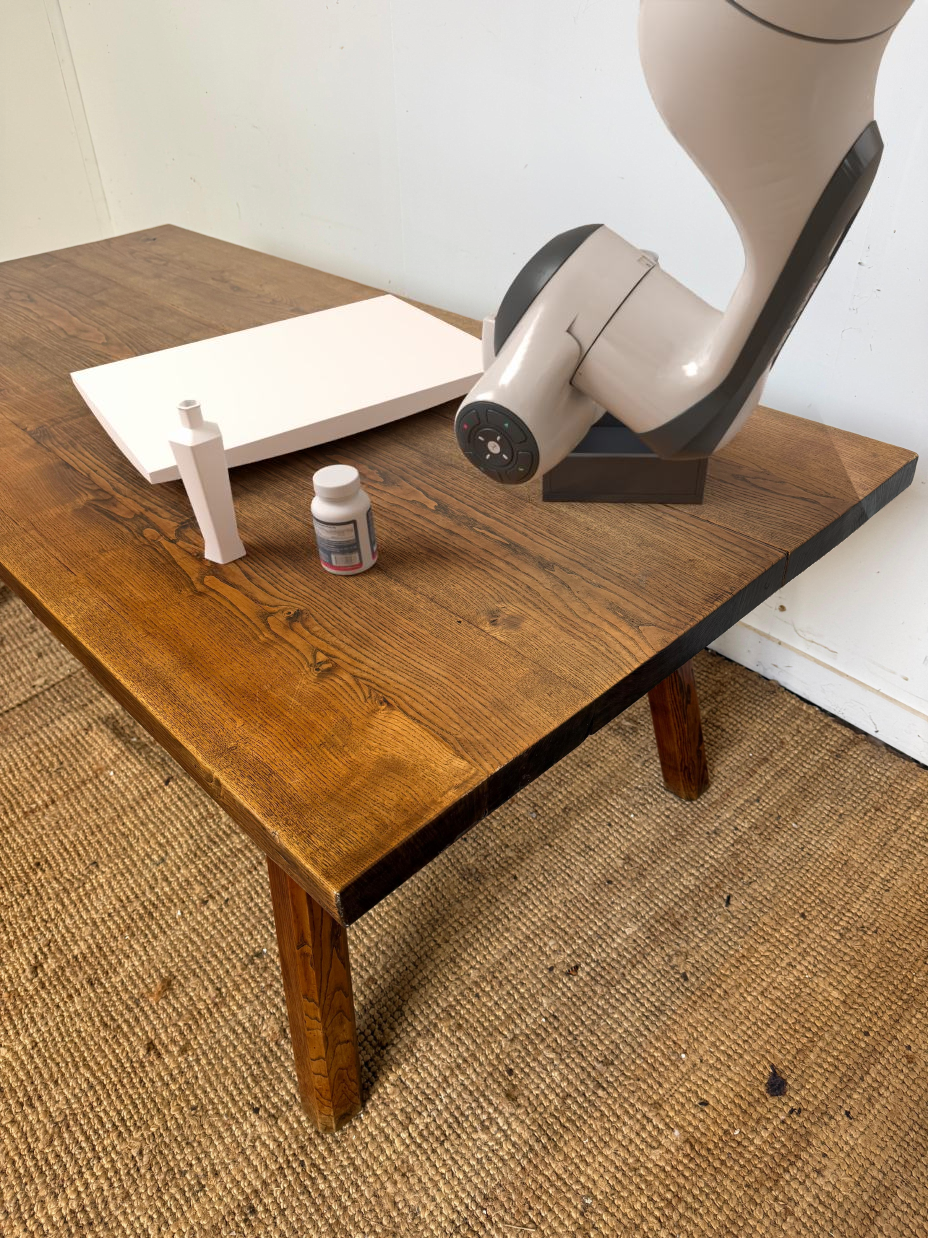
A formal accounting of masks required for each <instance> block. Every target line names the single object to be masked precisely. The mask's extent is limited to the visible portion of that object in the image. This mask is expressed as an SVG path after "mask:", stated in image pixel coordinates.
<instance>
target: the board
mask: <svg viewBox="0 0 928 1238" xmlns="http://www.w3.org/2000/svg"><path fill="white" fill-rule="evenodd" d="M69 374H70V377H71V380H72V382H73V384H74V386H75V388H76V389H77V391H78V393H79V395H80V396H81V397H82V398H83V400H84V401H85V403H86V405H87V406H88V408H89V409H90V411H91V412H92V414H93V415H94V417H95V418H96V419H97V420H98V422H99V424H100V425H101V426H102V428H103V429H104V431H105V432H106V433H107V434H108V436H109V438H111V440H112V441H113V443H115V445H116V446H117V447H118V449H119V451H121V453H123V455H124V456H125V457H126V458H127V460H128V461H129V462H130V463H131V464H132V465H133V467H134V468H135V469H136V470H137V471H138V472H139V473H140V474H141V475H142V476H143V477H144V478H145V479H146V480H147V481H148V482H149V483H150V484H151V485H156V484H161V483H166V482H171V481H176V480H180V479H181V480H182V477H181V474H180V471H179V469H178V466H177V463H176V460H175V458H174V455H173V452H172V449H171V447H170V444H169V441H168V438H169V437H170V436H171V435H172V434H174V433H175V432H176V431H177V430H178V429H179V428H180V427H181V426H182V424H181V420H180V416H179V412H178V409H177V408H176V407H175V405H176V404H177V403H179V402H180V401H181V400H183V399H195V398H198V399H199V400H200V402H201V405H200V408H201V412H202V416H203V420H204V421H210V422H216V423H217V424H218V426H219V429H220V431H221V434H222V439H223V445H224V451H225V457H226V463H227V469H230V468H234V467H238V466H243V465H246V464H247V465H248V464H251V463H255V462H259V461H262V460H266V459H271V458H274V457H278V456H282V455H285V454H289V453H293V452H297V451H300V450H304V449H307V448H311V447H314V446H318V445H321V444H326V443H328V442H332V441H336V440H338V439H341V438H346V437H348V436H352V435H355V434H357V433H360V432H365V431H367V430H370V429H373V428H376V427H379V426H382V425H385V424H388V423H391V422H394V421H396V420H400V419H403V418H406V417H408V416H411V415H414V414H417V413H420V412H423V411H425V410H428V409H430V408H433V407H436V406H439V405H441V404H444V403H446V402H449V401H451V400H452V401H453V400H454V399H457V398H459V397H462V396H464V395H468V393H469V392H470V391H471V390H472V388H473V387H474V386H475V384H476V383H477V382H478V381H479V380H480V378H481V377H482V376H483V375H484V372H483V362H482V339H479V338H478V337H476V336H474V335H472V334H470V333H468V332H466V331H463V330H462V329H460V328H458V327H455V326H454V325H451V324H450V323H449V322H445V321H444V320H442V319H440V318H438V317H435V316H434V315H432V314H430V313H428V312H426V311H425V310H422V309H420V308H418V307H416V306H414V305H412V304H410V303H408V302H407V301H405V300H402V299H400V298H398V297H396V296H394V295H392V294H390V293H389V294H385V295H380V296H377V297H372V298H369V299H365V300H364V299H363V300H361V301H356V302H352V303H348V304H343V305H340V306H337V307H332V308H328V309H324V310H320V311H316V312H312V313H308V314H304V315H299V316H296V317H295V316H294V317H291V318H287V319H284V320H279V321H275V322H272V323H271V322H270V323H268V324H263V325H259V326H255V327H251V328H247V329H244V330H243V329H242V330H239V331H235V332H231V333H227V334H223V335H222V334H221V335H219V336H214V337H210V338H206V339H202V340H199V341H195V342H191V343H187V344H182V345H178V346H174V347H169V348H167V349H161V350H158V351H154V352H150V353H147V354H146V353H145V354H141V355H138V356H133V357H129V358H126V359H121V360H118V361H113V362H110V363H105V364H101V365H97V366H93V367H89V368H85V369H80V370H77V371H74V372H69Z"/></svg>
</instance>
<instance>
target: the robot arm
mask: <svg viewBox="0 0 928 1238" xmlns="http://www.w3.org/2000/svg"><path fill="white" fill-rule="evenodd" d="M915 1H916V0H639V4H638V5H639V6H638V13H637V29H636V31H637V32H636V35H637V36H636V37H637V47H638V54H639V61H640V65H641V69H642V73H643V76H644V81H645V83H646V88H647V89H648V93H649V95H650V98H651V100H652V102H653V105H654V107H655V108H656V111H657V113H658V115H659V117H660V119H661V121H662V122H663V123H664V126H665V127H666V129H667V130H668V132H669V134H670V135H671V136H672V137H673V139H674V140H675V141H676V143H677V144H678V145H679V146H680V148H681V149H682V150H683V151H684V152H685V154H686V155H687V156H688V158H689V159H690V161H692V163H693V164H694V165H695V166H696V168H697V169H698V170H699V172H700V173H701V174H702V176H703V177H704V178H705V180H706V181H707V183H708V184H709V186H710V187H711V189H712V190H713V191H714V193H715V194H716V196H717V197H718V199H719V200H720V202H721V204H722V205H723V207H724V208H725V210H726V212H727V213H728V215H729V217H730V219H731V221H732V222H733V225H734V227H735V229H736V231H737V234H738V235H739V238H740V241H741V245H742V248H743V253H744V267H743V271H742V273H741V276H740V277H739V280H738V282H737V284H736V287H735V289H734V291H733V293H732V296H731V298H730V300H729V302H728V305H727V306H726V309H725V311H722V310H720V309H718V308H716V307H715V306H713V305H712V304H711V303H709V302H708V301H706V300H705V299H703V298H702V296H700V295H698V294H696V293H695V292H694V291H693V290H691V289H690V288H689V287H687V286H686V285H685V284H683V283H682V282H681V281H680V280H678V279H677V278H675V277H674V276H673V275H671V274H670V273H669V272H667V270H665V269H663V268H662V267H661V266H660V267H659V266H658V265H657V263H656V262H655V261H653V260H652V259H651V258H649V257H648V256H647V255H645V254H644V253H643V252H641V251H640V250H639V249H640V248H638V247H636V246H635V245H634V244H633V243H630V242H629V241H628V240H626V239H625V238H624V237H623V236H621V235H620V234H618V233H617V232H615V231H614V230H613V229H611V228H610V227H608V226H606V224H605V223H588V224H584V225H580V226H577V227H574V228H572V229H568V230H566V231H563V232H561V233H559V234H557V235H556V236H554V237H553V238H551V239H550V240H549V241H547V242H546V243H545V244H544V245H543V246H542V247H541V248H539V250H538V251H537V252H536V253H535V254H534V255H533V256H532V257H531V258H530V259H528V261H527V262H526V263H525V264H524V266H523V267H522V269H521V270H520V271H519V272H518V274H517V275H516V277H515V278H514V279H513V281H512V283H511V284H510V285H509V287H508V289H507V291H506V293H505V295H504V297H503V298H502V301H501V302H500V305H499V306H497V308H496V309H494V310H493V311H492V312H490V313H489V314H487V315H486V316H485V317H484V318H483V321H482V330H481V340H482V362H483V372H484V375H483V376H482V377H481V378H480V380H479V381H478V382H477V383H476V384H475V386H474V387H473V388H472V390H471V391H470V392H469V393H467V394H466V396H465V397H464V399H463V400H462V402H461V403H460V405H459V407H458V409H457V411H456V414H455V418H454V433H455V438H456V442H457V444H458V446H459V448H460V450H461V452H462V454H463V455H464V457H465V458H466V460H468V461H469V462H470V463H471V465H473V466H474V467H475V468H476V469H477V470H478V471H480V472H481V473H482V474H484V475H485V476H487V477H488V478H489V479H491V480H492V481H495V482H497V483H499V484H501V485H506V486H522V485H526V484H530V483H531V482H534V481H536V480H538V479H539V478H542V475H544V474H545V473H547V472H548V471H549V470H551V469H552V468H553V467H555V466H556V465H557V464H558V463H559V462H561V461H562V460H563V459H564V458H565V457H566V456H567V455H568V454H569V453H570V452H571V451H572V450H573V449H574V448H575V447H576V446H577V445H578V444H579V443H580V442H581V441H582V439H583V438H584V437H585V436H586V434H587V432H588V431H589V429H590V427H591V426H592V425H593V424H594V423H596V422H597V421H598V420H599V419H600V418H601V417H602V416H603V415H604V414H605V412H606V411H608V412H609V413H610V414H612V415H613V416H614V417H616V418H617V419H618V420H619V421H621V422H622V423H623V424H625V425H626V426H627V427H629V428H630V429H631V430H632V432H633V434H635V435H636V436H637V437H638V438H639V439H640V440H641V441H642V442H643V443H645V444H646V445H647V446H648V447H649V448H650V449H651V450H652V451H653V452H654V453H656V454H657V455H658V456H659V457H660V458H661V459H662V460H695V459H702V458H707V457H708V458H710V457H711V456H712V455H713V454H715V453H716V452H718V451H720V450H721V449H723V448H724V447H726V446H727V445H728V444H729V443H730V442H732V440H734V438H736V436H737V435H738V434H739V433H740V432H741V431H742V430H743V428H744V427H745V426H746V424H747V422H749V420H750V418H751V417H752V416H753V414H754V413H755V410H756V408H757V406H758V404H759V403H760V401H761V398H762V396H763V393H764V390H765V388H766V385H767V382H768V377H769V374H770V373H771V371H772V369H773V367H774V365H775V363H776V361H777V359H778V357H779V356H780V354H781V352H782V350H783V348H784V346H785V344H786V342H787V340H788V339H789V337H790V336H791V333H792V332H793V330H794V328H795V326H796V324H797V323H798V321H799V320H800V318H801V316H802V315H803V313H804V310H806V309H805V308H806V307H807V305H808V304H809V302H810V301H811V299H812V297H813V296H814V293H815V292H816V290H817V289H818V286H819V285H820V283H821V281H822V279H823V278H824V276H825V274H826V273H827V271H828V270H829V267H830V266H831V264H832V263H833V260H834V258H835V257H836V255H837V253H838V252H839V249H840V248H841V247H842V244H843V243H844V240H845V238H846V237H847V235H848V233H849V231H850V229H851V228H852V226H853V225H854V222H855V220H856V218H857V216H858V215H859V212H860V211H861V209H862V207H863V205H864V203H865V201H866V199H867V197H868V195H869V193H870V190H871V188H872V186H873V183H874V181H875V179H876V177H877V173H878V170H879V167H880V164H881V161H882V156H883V152H884V148H885V143H884V141H883V138H882V134H881V132H880V128H879V126H878V121H877V120H876V119H874V118H875V116H874V115H875V97H876V96H875V94H876V86H877V80H878V74H879V70H880V67H881V63H882V59H883V56H884V54H885V51H886V48H887V46H888V44H889V42H890V39H891V37H892V36H893V34H894V32H895V31H896V29H897V27H898V25H900V23H901V21H903V19H904V18H905V15H906V14H907V12H908V11H909V10H910V8H911V7H912V6H913V4H914V3H915Z"/></svg>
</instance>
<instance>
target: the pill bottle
mask: <svg viewBox="0 0 928 1238" xmlns="http://www.w3.org/2000/svg"><path fill="white" fill-rule="evenodd" d="M312 484H313V492H314V493H315V496H314V497H313V499H312V501H311V504H310V512H311V513H310V514H311V517H312V523H313V528H314V533H315V538H316V539H315V540H316V543H317V550H318V554H319V559H320V564H321V566H322V568H323V569H324V570H325V571H326V572H329V573H331V574H334V575H337V576H351V575H357V574H360V573H363V572H365V571H367V570H368V569H370V568H371V567H373V566H374V565H375V564H376V561H377V560H378V555H379V554H378V553H379V552H378V545H377V536H376V529H375V523H374V515H373V510H372V503H371V499H370V496H369V494H368V493H367V492H366V491H365V490H364V489H362V485H361V477H360V473H359V471H358V469H357V468H355V467H354V466H353V465H347V464H333V465H328V466H324V467H322V468H320V469H319V470H317V471H315V473H314V475H313V476H312Z"/></svg>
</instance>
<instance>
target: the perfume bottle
mask: <svg viewBox="0 0 928 1238" xmlns="http://www.w3.org/2000/svg"><path fill="white" fill-rule="evenodd" d="M200 405H201V402H200V400H199V399H198V398H195V399H183V400H181V401H180V402H179V403H177V404H176V405H175V407H176V408H177V409H178V412H179V416H180V420H181V424H182V426H181V427H180V428H179V429H178V430H177V431H176V432H175V433H174V434H172V435H171V436H170V437H169V438H168V441H169V444H170V447H171V449H172V452H173V455H174V458H175V460H176V463H177V466H178V469H179V471H180V474H181V477H182V478H181V480H182V482H183V485H184V488H185V490H186V491H185V492H186V494H187V496H188V499H189V502H190V505H191V507H192V510H193V513H194V516H195V518H196V521H197V524H198V527H199V529H200V532H201V535H202V537H203V540H204V559H206V560H209V561H212V562H214V563H218V564H220V565H225V564H229V563H230V562H233V561H235V560H237V559H239V558H242V557H244V556H246V555H247V552H246V549H245V545H244V543H243V542H242V539H241V538H240V536H239V535H240V534H239V531H238V526H237V518H236V513H235V505H234V501H233V500H234V499H233V493H232V489H231V482H230V477H229V475H230V474H229V470H228V469H229V468H227V463H226V457H225V451H224V445H223V439H222V434H221V431H220V429H219V426H218V424H217V423H216V422H210V421H204V420H203V416H202V412H201V408H200Z"/></svg>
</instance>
